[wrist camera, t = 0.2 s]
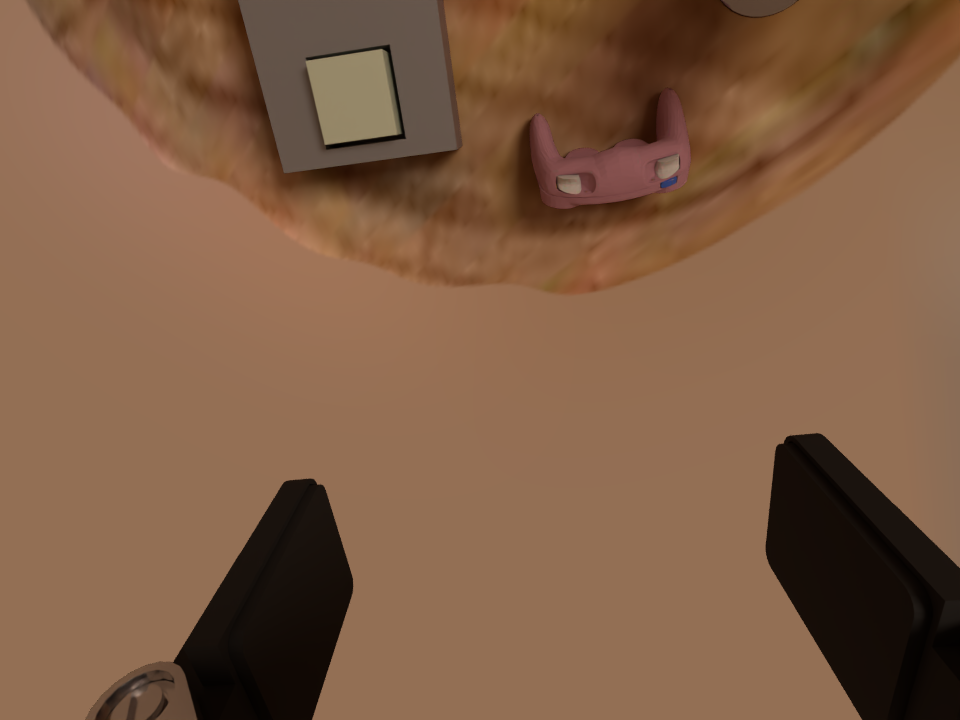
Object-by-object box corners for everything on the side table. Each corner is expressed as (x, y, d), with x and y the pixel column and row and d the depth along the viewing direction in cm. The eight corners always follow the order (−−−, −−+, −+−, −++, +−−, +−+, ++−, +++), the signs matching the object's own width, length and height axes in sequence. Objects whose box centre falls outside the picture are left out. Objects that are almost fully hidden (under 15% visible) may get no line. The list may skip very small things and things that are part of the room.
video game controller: (531, 171, 39) (542, 231, 34) (523, 109, 35) (535, 167, 31) (670, 145, 37) (701, 204, 33) (677, 79, 34) (713, 134, 30)
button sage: (322, 65, 33) (305, 61, 30) (392, 54, 32) (381, 48, 29) (339, 142, 34) (324, 144, 32) (405, 133, 34) (397, 134, 31)
